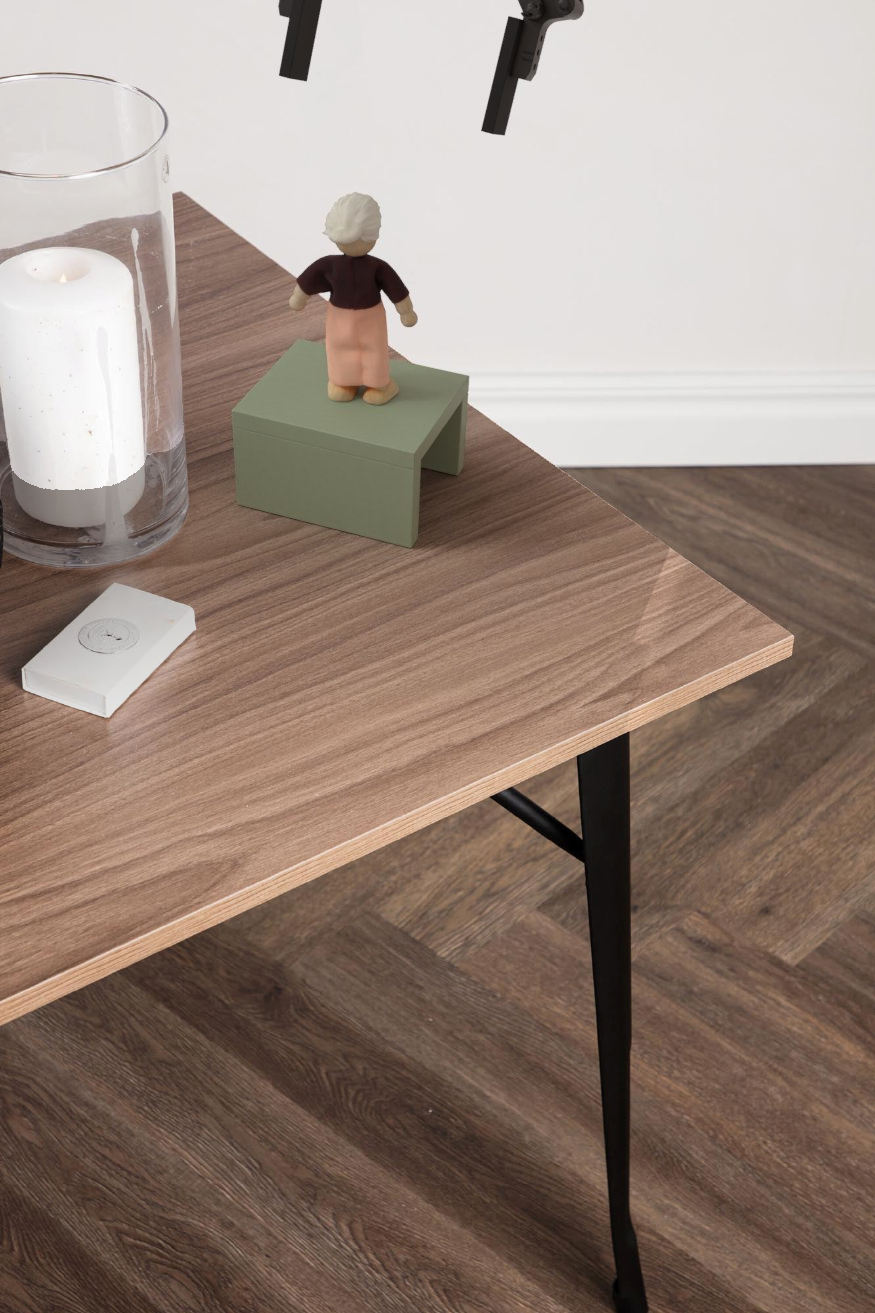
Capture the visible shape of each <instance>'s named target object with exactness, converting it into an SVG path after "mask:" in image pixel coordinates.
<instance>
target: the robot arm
mask: <svg viewBox="0 0 875 1313" xmlns="http://www.w3.org/2000/svg"><path fill="white" fill-rule="evenodd" d="M517 2H518V5H519V6H520V9H521V10H522V12H520V15H521V16H522V19H521V18H518V17H514V16H511V15H508V17H507V19H506V25H505V29H504V33H503V37H502V41H501V45H500V49H499V54H498V58H497V62H496V66H495V71H494V75H493V79H492V83H491V86H490V92H489V95H488V101H487V104H486V108H485V113H484V117H483V121H482V125H481V129H480V132H483V133H487V134H491V135H497V136H506V132H507V128H508V124H509V120H510V116H511V112H512V109H513V108H512V107H513V104H514V99H515V95H516V92H517V87H518V83H519V80H524V81H527V82H532V80H533V79H534V77H535V76H536V75H537V71H538V68H539V63H540V59H541V55H542V51H543V48H544V43H545V39H546V35H547V32H548V30H549V28H550V27H551V26H552V24H554V23H557V22H564V21H577V20H579V19H581V17H582V16H583V14H584V12H585V3H584V0H517ZM322 4H323V0H278V5H277V7H278V14H279V16H280V17H284V18H288V24H287V29H286V34H285V40H284V45H283V51H282V56H281V61H280V66H279V73H278V76H279V77H282V78H285V79H290V80H296V81H301V82H308V77H309V72H310V68H311V62H312V56H313V51H314V46H315V41H316V35H317V31H318V30H317V29H318V25H319V19H320V14H321V9H322V6H323V5H322Z"/></svg>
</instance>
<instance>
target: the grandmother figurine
mask: <svg viewBox="0 0 875 1313" xmlns="http://www.w3.org/2000/svg"><path fill="white" fill-rule="evenodd" d="M380 209H381V207H380V206H379V203H378V202H377V201H376V200H375V199H374V198H373V197H372V196H371V195H370V194H364V193H360V192H357V191H354V192H352V193H348V194H346V195H343V196H341V197H339V198H338V199H337V201H334V202H333V206H332V207H331V208H330V210H329V212H328V213H327V215H326V217H325V222H324V227H325V230H324V231H323V232H322V234H323V235H325V236H327V238H328V239H329V240H330V241H331V242H332V243H334V244H335V246H336V248H338V250H339V251H340V252H341V253H342V254H328V255H324V256H322V257H319V258H318V259H316V260H315V261H313V262H312V263H310V265H308V266H307V267H306V268H305V269H304V270H303V271H302V273H301V274H299V275H298V276H297V278H296V279H295V281H296V286H295V287H294V291H293V294H292V295H291V296H290V298H289V300H288V305H289V307H290V308H291V309H292V310H293V311H295V312H302V311H304V310H305V309H306V307H307V304H308V301H309V300H310V299H311V297H312V296H315V295H319V294H324V293H329V298H328V301H327V304H326V314H325V315H326V316H325V344H326V353H327V363H328V376H329V382H328V397H329V398H330V399H331V400H333V401H337V402H347V401H350V400H352V399H353V398H354V396H355V394H356V392H357V391H358V389H359V385H360V386H361V385H365V386H367V388H366V390H365V393H364V395H363V400H364V401H365V402H366V403H370V404H374V405H381V404H385V403H386V402H388V401H389V400H390V399H392V398H393V397H394V396H395V395H396V394H397V393H398V392H399V388H398V385H397V384H396V382H395V381H394V380H393V379H392V378H390V377H389V358H390V354H389V337H388V336H389V335H388V322H387V321H388V320H387V311H386V308H385V306H384V302H383V299H382V295H381V291H382V292H383V294H384V295H385V296H386V297H387V298H388V300H389V301H390V302H391V304H393V305H394V308H395V310H396V312H397V313H398V314H399V315H400V316H399V318H400V322H401V324H402V326H403V327H405V328H413V327H414V326H416V325H417V323H418V320H419V318H418V315H417V313H416V311H415V310H414V304H413V302H412V299H411V297H410V290H409V289H408V287H407V286H406V284H405V282H404V281H403V280H402V278H401V277H400V276H399V274H398V272H396V270H395V269H394V268H393V267H392V266H391V265H390V264H389V263H388V262H387V261H385V260H384V259H381V258H379V257H378V256H375V255H371V254H369V253H370V252H371V251H372V250H373V249H374V247H375V245H376V243H377V241H378V239H379V238H380V229H381V228H382V214H381V210H380Z"/></svg>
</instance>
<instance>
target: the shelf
mask: <svg viewBox="0 0 875 1313" xmlns="http://www.w3.org/2000/svg"><path fill="white" fill-rule="evenodd" d="M389 377H390V378H392V379H393V380H394V381H395V382H396V384H397V385H398V388H399V392H398V393H397V394H396V395H395V396H394V397H393V398H392V399H390V400H389V401H388V402H386V403H385V404H381V405H374V404H370V403H366V402H365V401H364V400H363V395H364V393H365V390H366V388H367V386H365V385H361V386H360V385H359V389H358V391H357V392H356V394H355V396H354V398H353V399H352V400H350V401H347V402H337V401H333V400H331V399H330V398H329V397H328V382H329V376H328V363H327V353H326V343H322V342H321V343H320V342H316V341H312V340H308V339H303V338H297V339H296V341H295V342H294V343H293V344H292V345H291V346H290V347H289V348H288V349H287V351H286V352H284V353H283V354H282V356H280V358H279V359H277V361H276V362H275V363H274V364H273V365H272V366H271V367H270V369H269V370H268V371H267V372H266V373H265V374H264V375H262V377H261V378H260V379H259V380H258V381H257V383H255V385H254V386H253V387H252V388H251V389H250V390H249V391H248V392H247V393H246V394H245V395H244V396H243V397H242V399H240V400H239V402H237V404H236V405H235V406H234V407H233V408H232V409H231V424H232V442H233V443H232V444H233V458H234V459H233V461H234V472H235V473H234V475H235V492H236V493H235V494H236V505H237V506H240V507H244V508H245V507H246V508H248V509H253V510H257V511H260V512H265V513H268V514H273V515H276V516H281V517H285V518H289V519H292V520H297V521H300V522H304V523H308V524H313V525H317V526H321V527H325V528H327V529H331V530H332V529H333V530H337V531H341V532H345V533H348V534H353V535H357V536H360V537H364V538H369V539H373V540H377V541H380V542H384V543H388V544H392V545H396V546H401V547H404V548H408V549H412V548H413V546H414V545H415V544H416V542H417V540H418V539H419V522H420V521H419V520H420V519H419V518H420V496H421V474H422V473H421V471H422V468H423V469H425V470H431V471H435V472H439V473H444V474H447V475H452V476H458V477H459V475H460V474H461V472H462V470H463V469H464V465H465V464H464V463H465V451H466V449H465V448H466V434H467V420H468V419H467V418H468V403H469V390H470V389H469V388H470V375H467V374H462V373H458V372H455V371H454V372H453V371H448V370H445V369H441V368H435V367H431V366H426V365H421V364H417V363H414V362H413V363H412V362H408V361H403V360H399V359H394V358H390V357H389Z"/></svg>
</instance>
